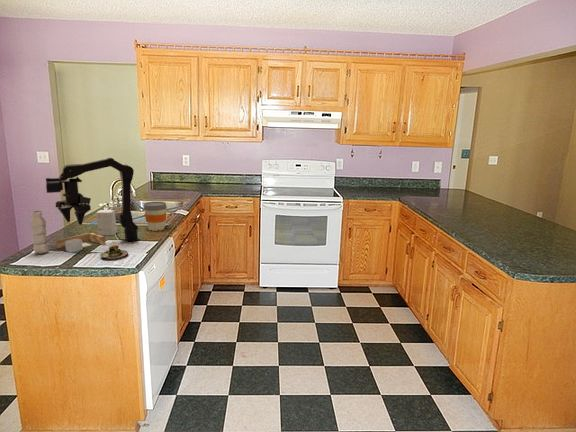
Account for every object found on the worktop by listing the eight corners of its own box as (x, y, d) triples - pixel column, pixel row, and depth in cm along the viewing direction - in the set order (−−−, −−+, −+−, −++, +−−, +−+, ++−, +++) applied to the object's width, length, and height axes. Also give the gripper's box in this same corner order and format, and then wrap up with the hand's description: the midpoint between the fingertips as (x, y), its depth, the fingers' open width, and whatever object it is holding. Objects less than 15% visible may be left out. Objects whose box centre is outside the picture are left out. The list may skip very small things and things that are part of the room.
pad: (91, 245, 200) (91, 244, 200) (80, 248, 196) (80, 247, 195) (85, 242, 204) (85, 242, 204) (73, 245, 199) (73, 245, 199)
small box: (116, 232, 224) (115, 209, 221) (113, 235, 218) (111, 212, 215) (102, 232, 223) (99, 209, 220) (97, 235, 217) (95, 212, 214)
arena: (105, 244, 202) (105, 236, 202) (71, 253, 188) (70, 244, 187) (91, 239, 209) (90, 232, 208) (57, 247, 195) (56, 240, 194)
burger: (98, 262, 178) (96, 246, 176) (103, 253, 189) (102, 238, 188) (126, 260, 181) (125, 245, 179) (130, 252, 192) (129, 237, 190)
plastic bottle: (32, 255, 183) (26, 213, 179) (36, 251, 190) (31, 210, 185) (47, 254, 185) (42, 213, 180) (51, 250, 191) (46, 209, 187)
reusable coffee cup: (169, 230, 230) (168, 205, 226) (146, 232, 225) (144, 206, 221) (165, 225, 241) (164, 201, 237) (144, 227, 236) (142, 202, 232)
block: (82, 249, 194) (81, 239, 192) (70, 252, 189) (69, 242, 188) (78, 248, 196) (77, 238, 195) (66, 251, 191) (65, 241, 190)
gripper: (99, 191, 192) (101, 222, 196) (75, 187, 201) (77, 217, 204) (78, 194, 182) (81, 227, 186) (53, 190, 191) (56, 221, 195)
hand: (74, 223), depth 193 cm, fingers open, 9 cm apart
